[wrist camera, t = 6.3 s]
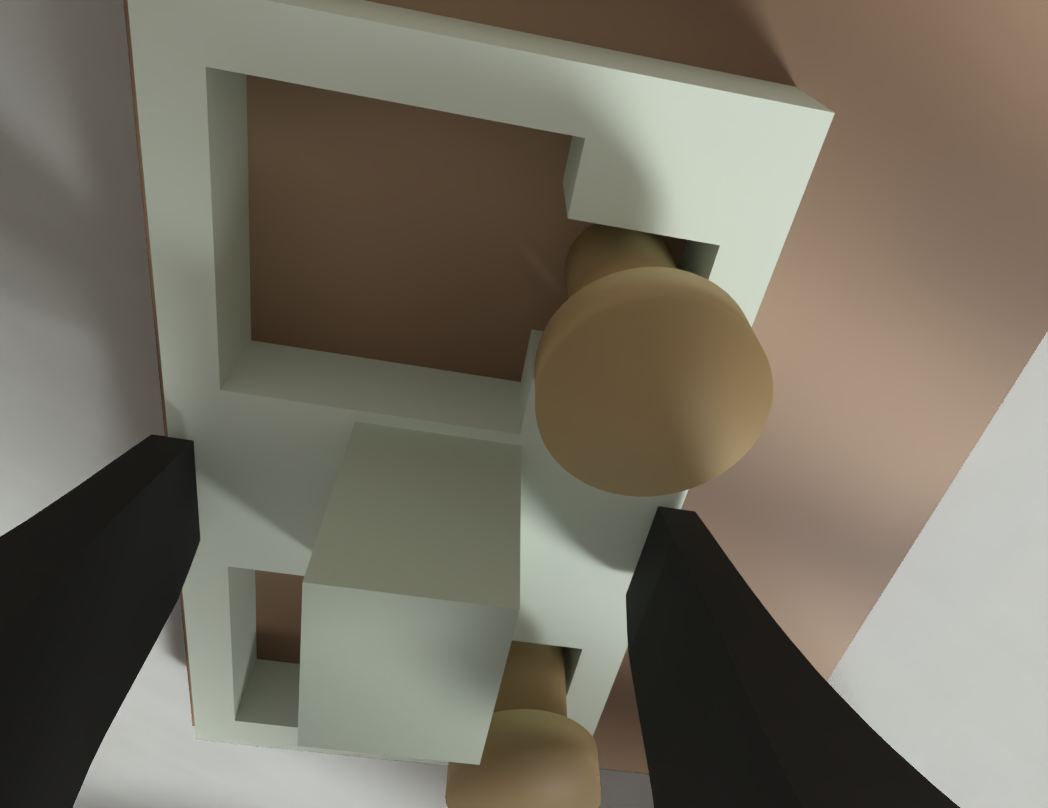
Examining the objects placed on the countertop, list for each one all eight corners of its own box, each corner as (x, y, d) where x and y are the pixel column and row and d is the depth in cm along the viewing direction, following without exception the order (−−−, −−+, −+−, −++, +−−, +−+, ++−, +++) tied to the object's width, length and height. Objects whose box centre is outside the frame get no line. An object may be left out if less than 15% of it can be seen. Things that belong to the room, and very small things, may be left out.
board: (748, 742, 20) (807, 960, 16) (210, 682, 19) (121, 903, 15) (1189, -15, 11) (1626, 39, 6) (144, -252, 9) (-173, -378, 5)
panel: (572, 717, 18) (585, 949, 14) (220, 677, 17) (128, 912, 13) (797, 86, 10) (968, 202, 6) (178, -37, 9) (-73, 6, 5)
